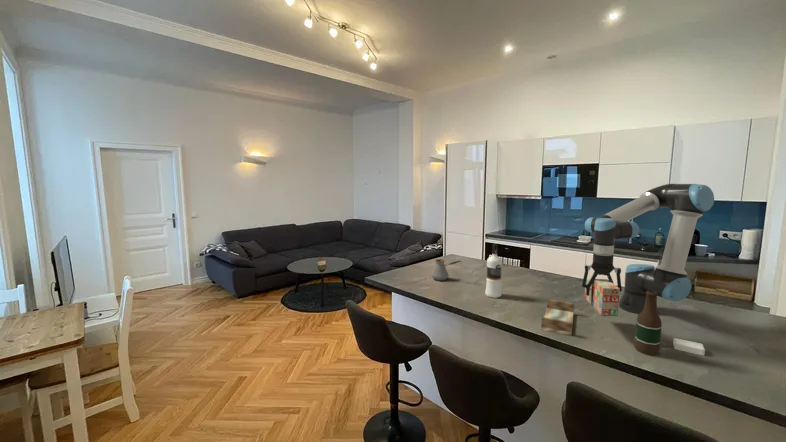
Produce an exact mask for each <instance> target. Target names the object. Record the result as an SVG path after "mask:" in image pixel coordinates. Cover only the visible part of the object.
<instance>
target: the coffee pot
mask: <svg viewBox="0 0 786 442" xmlns="http://www.w3.org/2000/svg"><path fill="white" fill-rule="evenodd" d="M434 261H435V265H434V268H433V270H432V272H431V273H430V274H431V275H430V276H431V278H432V279H433V280H435V281H437V282H442V281H443V282H444V281H446V280H447V279H448V278H449V273H448V271H447V268H446V266H449V265H453V264H454V265H455V264H458V263H460V264H463V261H461V260H457V261H456V260H455V261H453V262H450V263H447V264H445V261H446V260H445V259H441V258H440V259H435V260H434Z"/></svg>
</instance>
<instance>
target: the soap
mask: <svg viewBox="0 0 786 442" xmlns="http://www.w3.org/2000/svg"><path fill="white" fill-rule="evenodd" d="M672 345H673V349H674V350H677V351H682V352H684V353H685V352H686V353H691V354H696V355H700V356H705V354H706V353H705V352H706V349H705V347H704V344H703V343H700V342H695V341H692V340H691V341H690V340H685V339H681V338H677V337H675V338H673V343H672Z"/></svg>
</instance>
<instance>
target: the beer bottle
mask: <svg viewBox="0 0 786 442" xmlns="http://www.w3.org/2000/svg"><path fill="white" fill-rule="evenodd" d="M658 297H659V296H658V294H657V292H654V291H646V300H645V306H644V309H643V311H642V312H641V313H640V314H639V313H638V315H637V318H636V323H635V324H636V325H635V336H634V348H635V350H636V351H637V352H639V353H641V354H644V355H648V356H653V355H654V356H656V355H658V354H659V353H660V346H661V336H662V327H663V325H662V323H663V322H662V319H661V317H660V315H659V314H658V310H657V308H658V307H657V304H658V303H657V302H658Z"/></svg>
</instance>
